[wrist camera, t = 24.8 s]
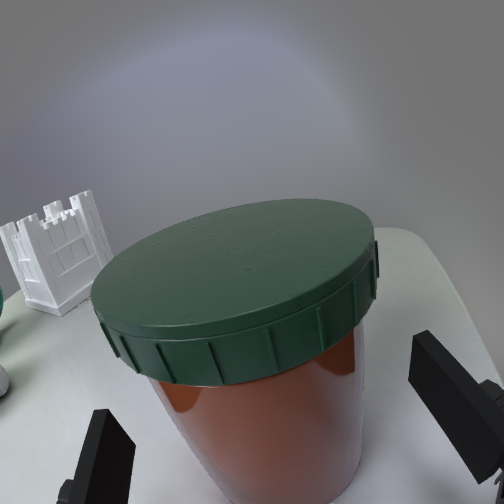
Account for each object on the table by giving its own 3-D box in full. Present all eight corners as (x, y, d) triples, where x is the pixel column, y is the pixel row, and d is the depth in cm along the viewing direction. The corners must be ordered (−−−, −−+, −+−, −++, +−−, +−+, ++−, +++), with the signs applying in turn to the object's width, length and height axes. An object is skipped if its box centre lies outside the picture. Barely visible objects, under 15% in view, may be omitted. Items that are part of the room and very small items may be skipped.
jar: (336, 387, 20) (314, 207, 16) (382, 490, 12) (411, 285, 7) (211, 417, 20) (141, 250, 15) (217, 529, 12) (80, 364, 7)
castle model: (61, 316, 40) (21, 220, 34) (27, 306, 46) (-5, 229, 41) (122, 272, 51) (93, 188, 46) (80, 271, 58) (55, 201, 52)
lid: (437, 325, 7) (442, 259, 6) (74, 405, 7) (38, 352, 6) (326, 222, 16) (321, 186, 16) (142, 266, 16) (130, 233, 16)
